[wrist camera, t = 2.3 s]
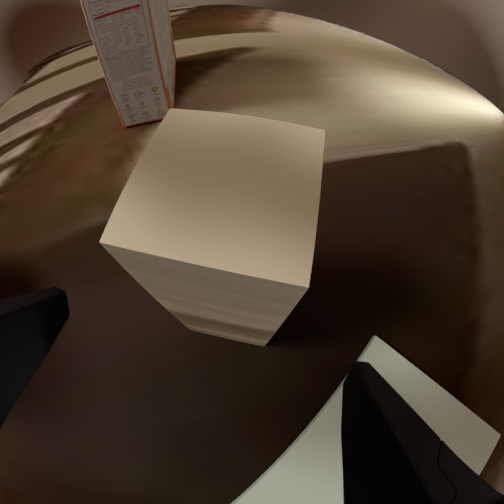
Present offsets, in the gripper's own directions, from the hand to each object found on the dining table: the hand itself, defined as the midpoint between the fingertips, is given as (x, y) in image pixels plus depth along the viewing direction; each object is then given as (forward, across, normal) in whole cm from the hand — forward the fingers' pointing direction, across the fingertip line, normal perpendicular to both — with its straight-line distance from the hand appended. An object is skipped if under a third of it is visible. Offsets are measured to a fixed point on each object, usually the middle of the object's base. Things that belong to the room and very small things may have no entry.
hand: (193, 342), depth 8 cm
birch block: (+10, 0, +5) cm, 11 cm away
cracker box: (+26, +16, -10) cm, 32 cm away
